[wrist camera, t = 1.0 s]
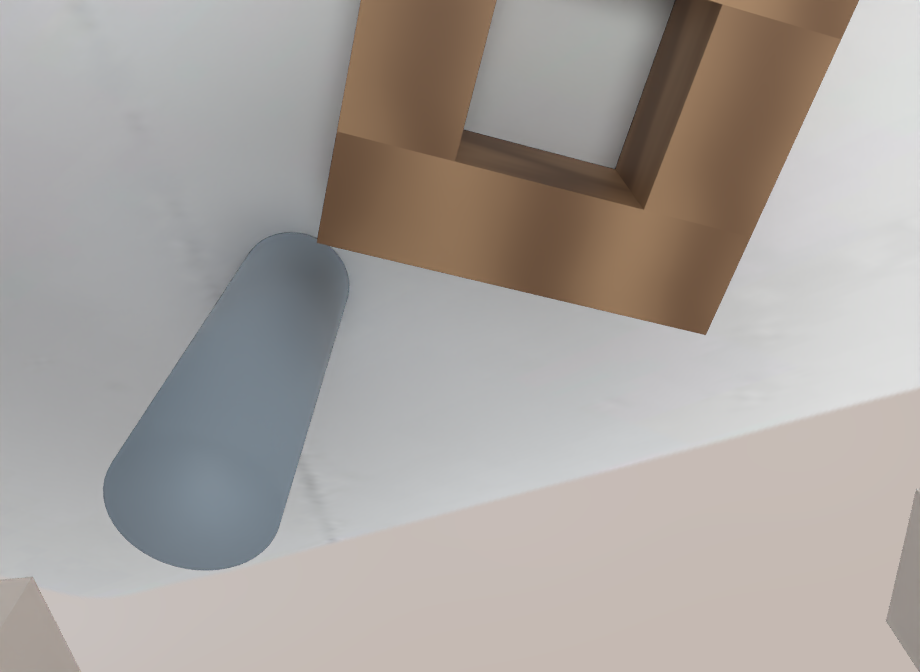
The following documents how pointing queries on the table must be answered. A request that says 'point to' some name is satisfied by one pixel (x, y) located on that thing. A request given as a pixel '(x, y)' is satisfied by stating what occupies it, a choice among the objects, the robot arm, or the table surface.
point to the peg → (233, 413)
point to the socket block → (570, 180)
